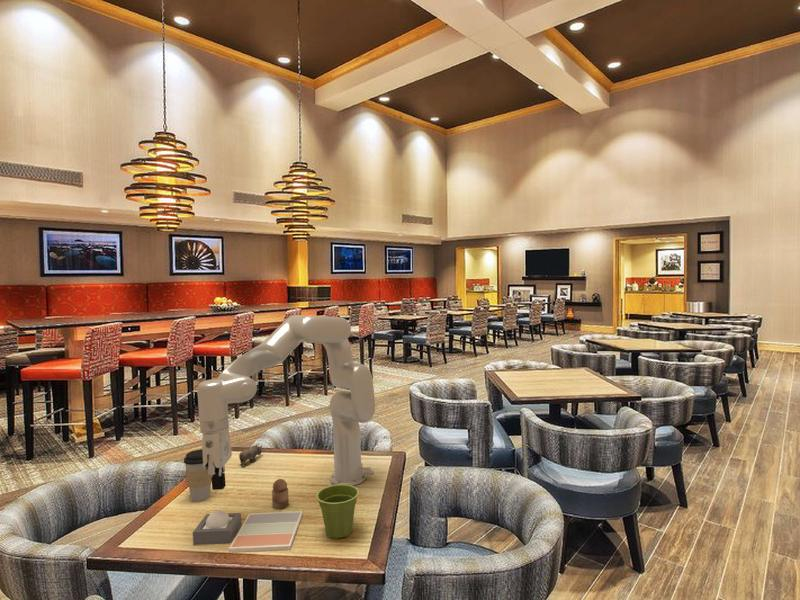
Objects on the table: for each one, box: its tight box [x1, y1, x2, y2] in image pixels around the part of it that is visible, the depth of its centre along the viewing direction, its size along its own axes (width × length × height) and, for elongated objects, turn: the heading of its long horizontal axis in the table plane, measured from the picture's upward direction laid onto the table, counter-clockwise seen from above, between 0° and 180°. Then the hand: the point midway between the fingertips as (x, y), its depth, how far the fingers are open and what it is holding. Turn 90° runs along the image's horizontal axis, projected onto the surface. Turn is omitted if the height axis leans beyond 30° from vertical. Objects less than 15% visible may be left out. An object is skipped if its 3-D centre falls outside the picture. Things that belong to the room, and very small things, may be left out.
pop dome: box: [203, 510, 233, 529], centre depth 133 cm, size 6×6×6 cm
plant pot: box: [315, 484, 360, 540], centre depth 132 cm, size 12×12×11 cm
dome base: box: [192, 512, 243, 546], centre depth 133 cm, size 10×10×4 cm
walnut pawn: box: [271, 478, 290, 510], centre depth 149 cm, size 5×5×8 cm
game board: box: [228, 510, 304, 553], centre depth 133 cm, size 16×19×1 cm
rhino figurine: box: [238, 444, 263, 468], centre depth 188 cm, size 4×14×6 cm, turn 159°
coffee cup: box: [183, 448, 212, 503], centre depth 156 cm, size 9×9×15 cm
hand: (219, 488), depth 133 cm, fingers closed
